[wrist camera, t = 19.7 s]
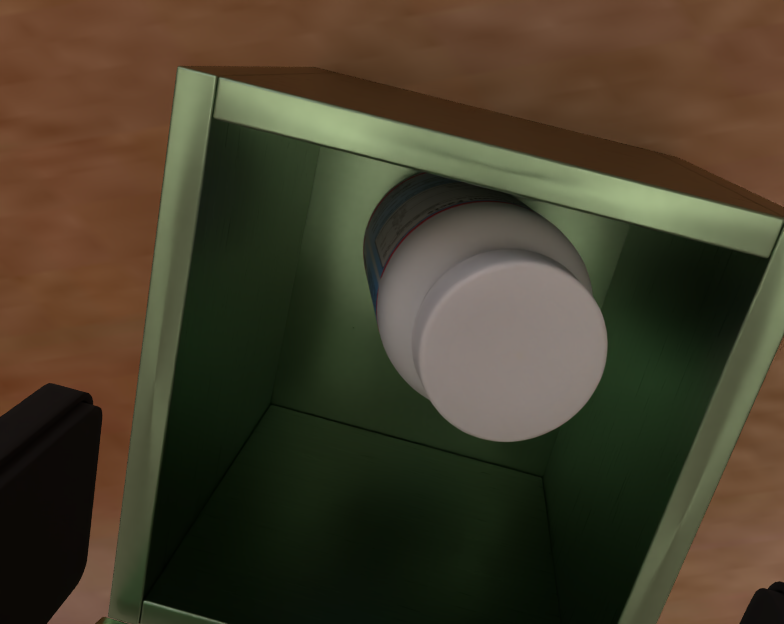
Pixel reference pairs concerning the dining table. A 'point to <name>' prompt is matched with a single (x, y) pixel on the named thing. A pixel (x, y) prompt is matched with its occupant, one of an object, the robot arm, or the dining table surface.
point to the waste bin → (395, 396)
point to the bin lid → (109, 621)
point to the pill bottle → (483, 307)
